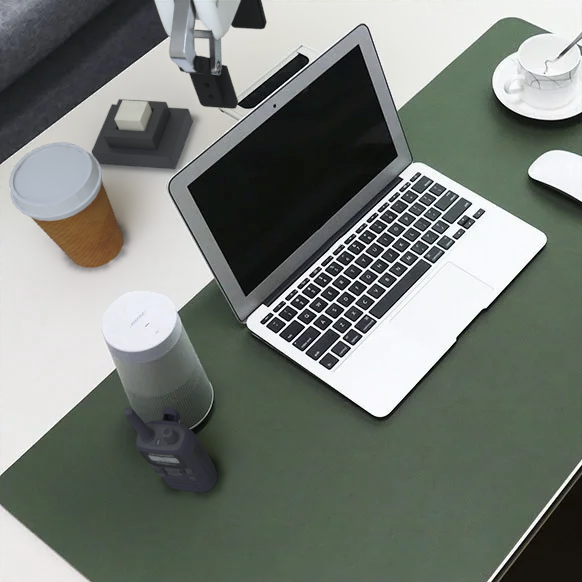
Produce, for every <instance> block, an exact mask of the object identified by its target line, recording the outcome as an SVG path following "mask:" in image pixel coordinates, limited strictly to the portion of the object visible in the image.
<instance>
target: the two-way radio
mask: <svg viewBox="0 0 582 582" xmlns="http://www.w3.org/2000/svg"><path fill="white" fill-rule="evenodd" d="M122 413H123V415H124V416H125V417H126V419H127V420H128V421H129V423H130V425H131V426H132V427H133V429H134V430H135V431H136V433H137V434H136V437H135V447H136V450H137V451H138V453H139V454H140V456H141V457H142V458H143V459H144V460H145V461H146V463H147V464H148V465H149V466H150V467H151V469H153V471H154V472H155V473H156V474H157V476H158V477H161V478H162V479H163V481H164V482H165V483H166V484H167V485H168V486H169V487H170V488H171V489H174V490H177V491H184V492H194V493H208V492H209V491H211V490H212V489H213V488H214V487H215V486H216V483H217V482H218V476H219V475H218V472H217V470H216V466H215V464H214V462H213V461H212V459H211V456H210V455H209V454H208V452H207V450H206V448H205V446H204V445H203V443H202V442H201V440H200V439H199V438H198V436H197V435H196V434H195V433H194V431H193V430H192V429H190V428H189V427H188V426H185V425H184V424H183V423H182V420H181V419H182V418H181V415H180V412H179V411H178V410H177V408H174V407H164V408H163V410H162V414H161V415H162V419H158V420H151V421H148V422H145V421H144V420H143V419H142V418H141V417H140V415H139V414H138V413H137V412H136V411H135V410H134V409H133V407H131V406H126V407H124V408H123V411H122Z"/></svg>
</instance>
